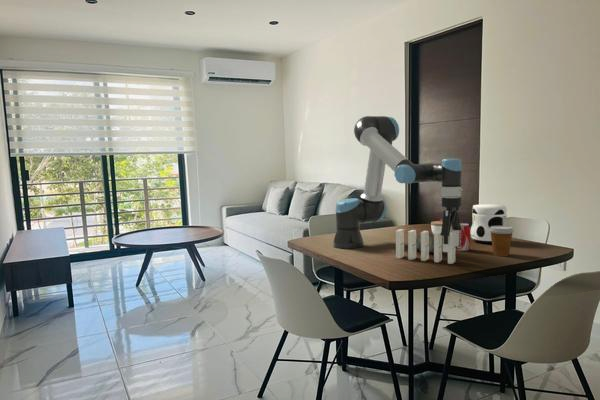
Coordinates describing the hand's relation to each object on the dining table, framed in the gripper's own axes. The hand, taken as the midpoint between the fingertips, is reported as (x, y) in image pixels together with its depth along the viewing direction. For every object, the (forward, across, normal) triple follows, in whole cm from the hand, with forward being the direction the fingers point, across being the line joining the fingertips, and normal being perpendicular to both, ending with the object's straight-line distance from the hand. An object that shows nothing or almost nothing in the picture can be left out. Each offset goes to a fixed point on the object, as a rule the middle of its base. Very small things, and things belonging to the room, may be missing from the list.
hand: (451, 248), depth 179 cm
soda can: (+6, +26, +2) cm, 27 cm away
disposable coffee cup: (+6, +23, -15) cm, 28 cm away
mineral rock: (+6, +14, +14) cm, 21 cm away
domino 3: (+6, 0, +11) cm, 12 cm away
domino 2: (+6, 0, +16) cm, 17 cm away
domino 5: (+6, 0, 0) cm, 6 cm away
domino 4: (+6, 0, +5) cm, 8 cm away
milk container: (+6, +51, -5) cm, 51 cm away
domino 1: (+6, 0, +22) cm, 22 cm away
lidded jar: (+6, +56, +20) cm, 60 cm away
